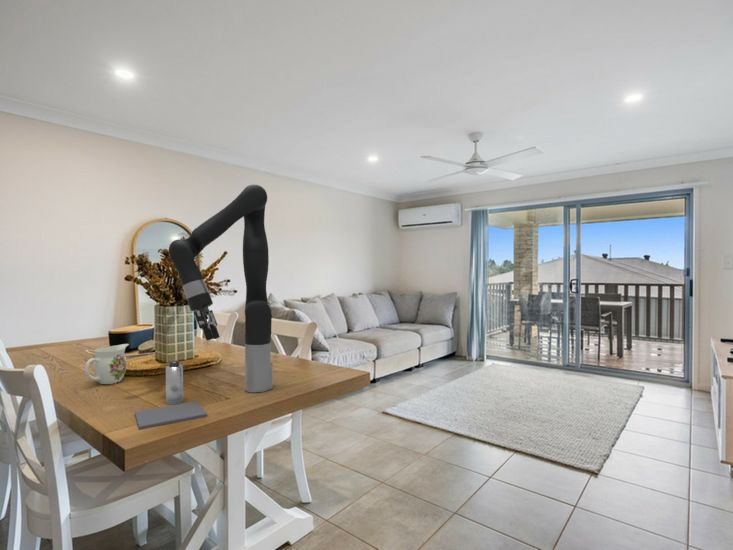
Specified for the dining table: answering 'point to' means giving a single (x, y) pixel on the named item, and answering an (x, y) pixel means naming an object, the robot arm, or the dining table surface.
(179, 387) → the pepper mill
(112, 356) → the pitcher
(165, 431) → the dining table surface
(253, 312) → the robot arm
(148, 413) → the placemat
